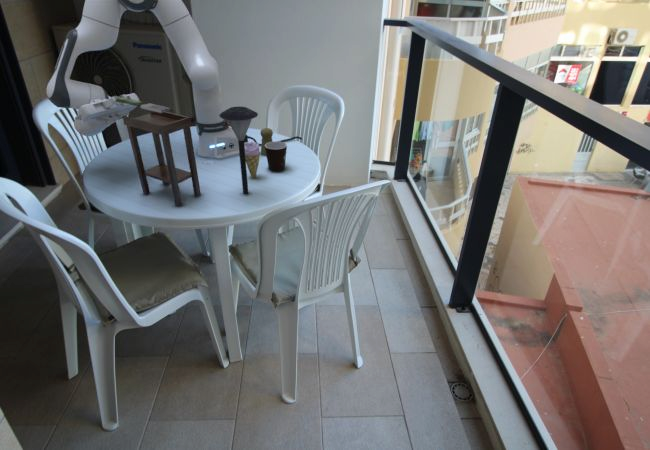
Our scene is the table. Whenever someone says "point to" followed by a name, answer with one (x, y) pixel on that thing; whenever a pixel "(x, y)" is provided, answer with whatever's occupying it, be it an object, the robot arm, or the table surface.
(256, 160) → the ice cream cone
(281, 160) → the coffee mug
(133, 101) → the fork
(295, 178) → the table surface
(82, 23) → the robot arm
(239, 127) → the solar garden light
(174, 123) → the stand
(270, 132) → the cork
